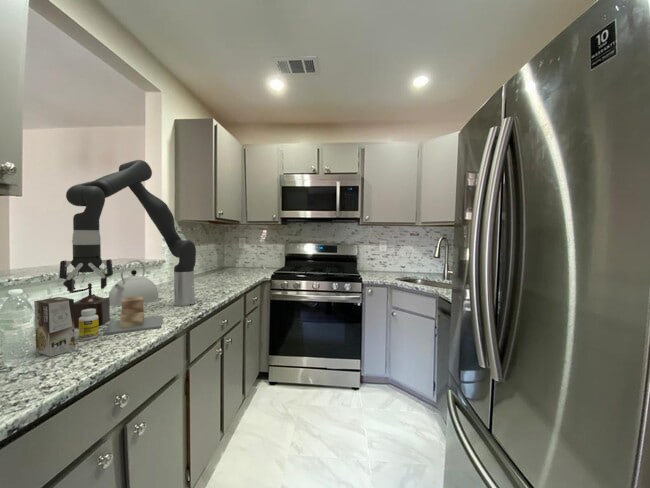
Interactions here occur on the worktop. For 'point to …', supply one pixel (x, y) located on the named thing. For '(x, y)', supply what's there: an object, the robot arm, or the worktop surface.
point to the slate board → (147, 325)
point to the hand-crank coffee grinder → (90, 305)
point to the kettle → (133, 288)
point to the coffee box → (54, 326)
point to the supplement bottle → (88, 324)
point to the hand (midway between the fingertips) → (87, 289)
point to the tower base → (132, 319)
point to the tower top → (132, 305)
